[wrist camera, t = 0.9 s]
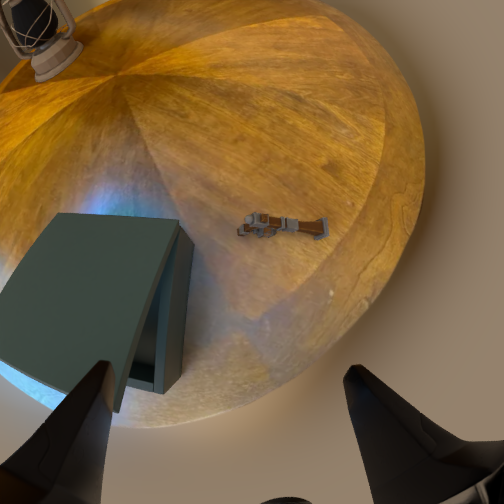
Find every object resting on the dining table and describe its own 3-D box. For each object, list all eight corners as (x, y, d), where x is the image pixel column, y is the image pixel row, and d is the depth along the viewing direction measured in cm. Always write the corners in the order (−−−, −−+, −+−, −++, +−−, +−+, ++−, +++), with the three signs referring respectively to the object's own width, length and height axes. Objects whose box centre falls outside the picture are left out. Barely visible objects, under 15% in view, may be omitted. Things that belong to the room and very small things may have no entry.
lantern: (23, 93, 31) (-42, 4, 1) (41, 60, 33) (-8, -23, 3) (80, 63, 31) (23, -52, 2) (94, 34, 34) (54, -66, 4)
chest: (181, 377, 23) (163, 395, 17) (78, 351, 23) (45, 358, 17) (194, 244, 25) (180, 225, 20) (92, 234, 25) (62, 217, 19)
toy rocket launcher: (228, 221, 25) (249, 204, 21) (300, 229, 28) (328, 216, 24) (228, 241, 24) (250, 226, 20) (302, 246, 28) (330, 235, 24)
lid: (119, 414, 10) (113, 409, 9) (-18, 348, 10) (-25, 341, 9) (180, 228, 19) (179, 219, 19) (60, 219, 19) (58, 212, 19)
